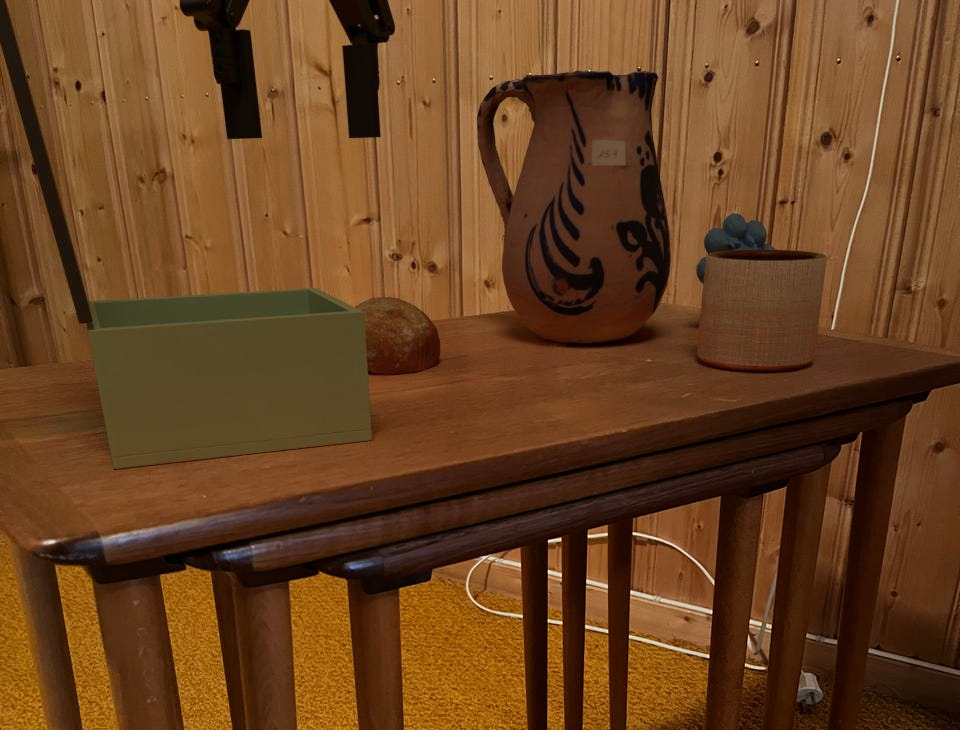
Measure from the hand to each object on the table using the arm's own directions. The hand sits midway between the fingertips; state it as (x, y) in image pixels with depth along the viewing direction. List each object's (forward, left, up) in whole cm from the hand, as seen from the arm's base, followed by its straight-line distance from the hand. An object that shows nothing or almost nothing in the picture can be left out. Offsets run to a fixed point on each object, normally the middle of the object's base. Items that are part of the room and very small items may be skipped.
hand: (308, 138), depth 74 cm
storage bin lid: (-19, -9, -1) cm, 21 cm away
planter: (+40, -4, -20) cm, 45 cm away
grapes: (+50, +13, -20) cm, 56 cm away
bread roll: (+8, +10, -20) cm, 24 cm away
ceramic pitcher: (+30, +16, -20) cm, 40 cm away
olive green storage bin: (-10, -9, -19) cm, 23 cm away
